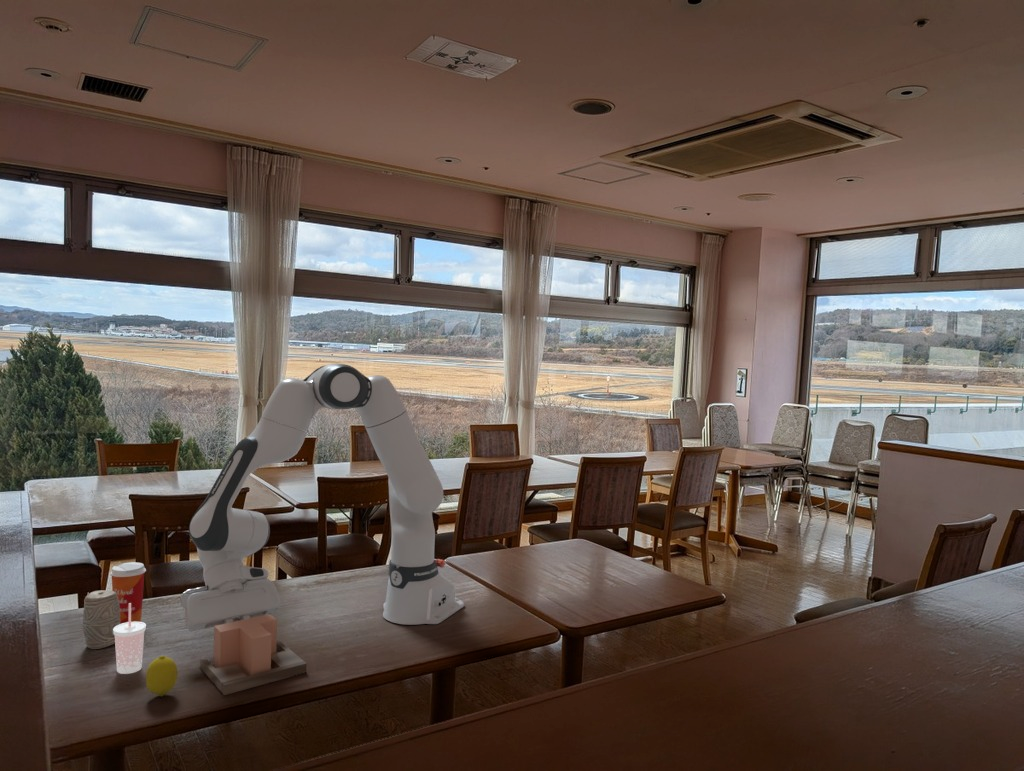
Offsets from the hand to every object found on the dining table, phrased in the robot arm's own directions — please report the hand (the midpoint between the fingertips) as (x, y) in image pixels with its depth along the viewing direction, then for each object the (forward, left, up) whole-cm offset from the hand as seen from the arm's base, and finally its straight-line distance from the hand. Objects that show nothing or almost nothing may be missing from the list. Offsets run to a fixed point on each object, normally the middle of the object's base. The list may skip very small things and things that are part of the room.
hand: (241, 638), depth 158 cm
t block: (+2, +6, -4) cm, 8 cm away
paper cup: (+6, -37, -5) cm, 38 cm away
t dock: (+2, +6, -4) cm, 7 cm away
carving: (+16, -29, -5) cm, 33 cm away
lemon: (+20, +3, -5) cm, 20 cm away
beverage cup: (+18, -13, -5) cm, 22 cm away
